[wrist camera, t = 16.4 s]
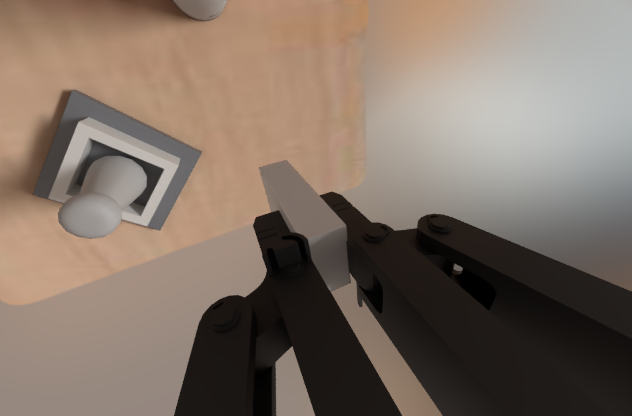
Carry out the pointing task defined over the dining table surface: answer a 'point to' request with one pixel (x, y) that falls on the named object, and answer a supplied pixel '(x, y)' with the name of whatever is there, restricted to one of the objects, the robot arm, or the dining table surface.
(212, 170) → the dining table surface
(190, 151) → the socket
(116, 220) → the grey bulb peg
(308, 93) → the dining table surface
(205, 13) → the travel mug
